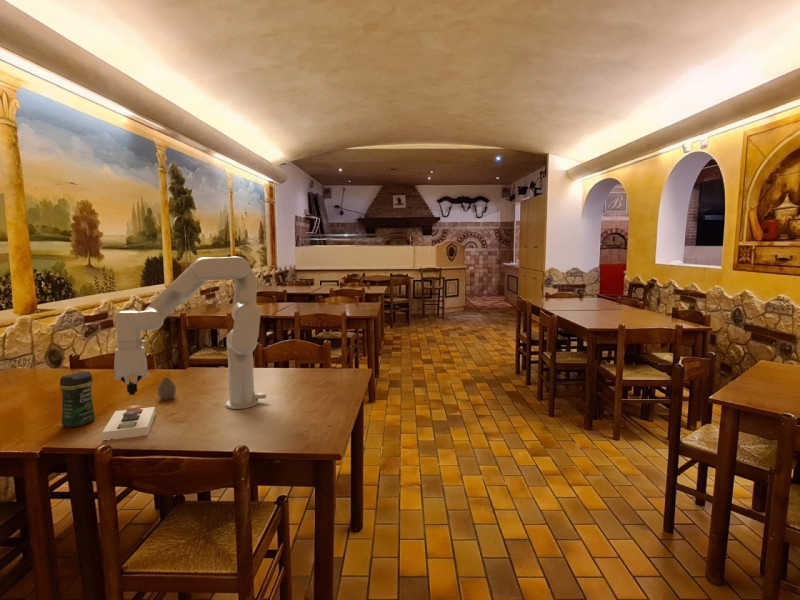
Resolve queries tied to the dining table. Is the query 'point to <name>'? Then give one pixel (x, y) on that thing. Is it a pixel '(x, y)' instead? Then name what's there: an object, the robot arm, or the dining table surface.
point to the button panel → (139, 430)
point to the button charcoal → (130, 416)
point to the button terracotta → (134, 408)
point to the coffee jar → (77, 399)
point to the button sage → (127, 424)
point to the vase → (166, 389)
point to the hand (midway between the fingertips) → (132, 394)
